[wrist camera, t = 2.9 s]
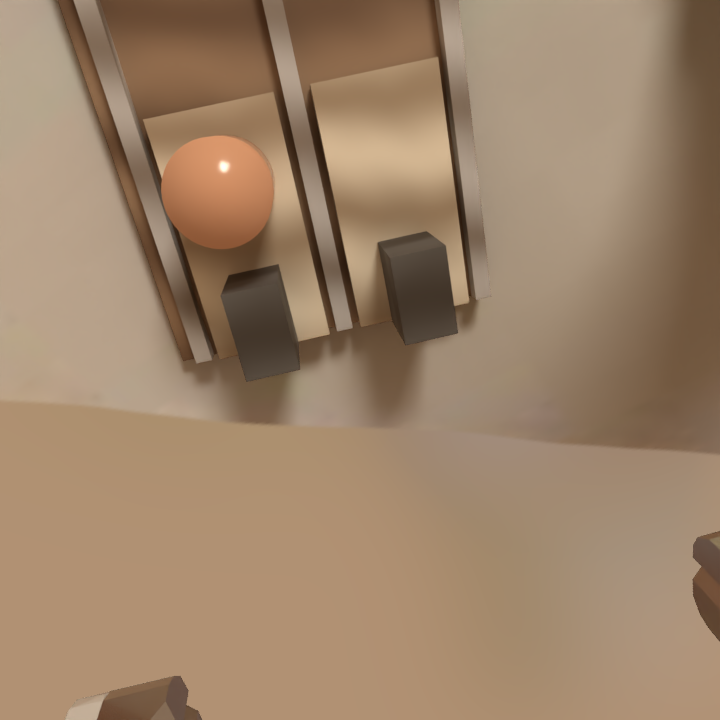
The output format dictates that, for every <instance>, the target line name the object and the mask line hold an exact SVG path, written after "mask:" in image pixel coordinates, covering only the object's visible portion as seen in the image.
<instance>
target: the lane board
mask: <svg viewBox="0 0 720 720" xmlns="http://www.w3.org/2000/svg"><path fill="white" fill-rule="evenodd" d="M58 2H59V5H60V8H61V11H62V14H63V17H64V20H65V23H66V25H67V28H68V31H69V34H70V37H71V40H72V43H73V46H74V48H75V51H76V54H77V57H78V60H79V63H80V66H81V69H82V71H83V74H84V77H85V80H86V83H87V86H88V89H89V92H90V94H91V97H92V100H93V103H94V106H95V109H96V112H97V115H98V117H99V120H100V123H101V126H102V129H103V132H104V135H105V138H106V140H107V143H108V146H109V149H110V152H111V155H112V158H113V161H114V163H115V166H116V169H117V172H118V175H119V178H120V181H121V184H122V186H123V189H124V192H125V195H126V198H127V201H128V204H129V207H130V209H131V212H132V215H133V218H134V221H135V224H136V227H137V230H138V232H139V235H140V238H141V241H142V244H143V247H144V250H145V253H146V256H147V258H148V261H149V264H150V267H151V270H152V273H153V276H154V279H155V281H156V284H157V287H158V290H159V293H160V296H161V299H162V302H163V304H164V307H165V310H166V313H167V316H168V319H169V322H170V325H171V327H172V330H173V333H174V336H175V339H176V342H177V345H178V348H179V350H180V353H181V356H182V359H183V361H186V360H190V359H195V361H196V364H197V363H201V362H205V361H210V360H212V359H213V356H214V354H217V349H216V346H215V343H214V340H213V337H212V334H211V331H210V328H209V324H208V321H207V318H206V315H205V312H204V309H203V306H202V303H201V299H200V296H199V293H198V290H197V287H196V284H195V281H194V278H193V274H192V271H191V268H190V265H189V262H188V259H187V256H186V253H185V249H184V246H183V243H182V240H181V237H180V234H179V231H178V229H177V228H176V227H175V226H174V224H173V223H172V222H171V220H170V218H169V217H168V215H167V213H166V210H165V208H164V204H163V200H162V194H161V183H162V178H161V174H160V171H159V168H158V165H157V162H156V159H155V156H154V153H153V149H152V146H151V143H150V140H149V137H148V134H147V131H146V128H145V124H144V121H143V119H148V118H153V117H157V116H162V115H167V114H171V113H176V112H181V111H186V110H190V109H195V108H200V107H204V106H209V105H214V104H218V103H223V102H228V101H233V100H237V99H242V98H247V97H251V96H256V95H261V94H265V93H270V92H274V96H275V101H276V105H277V109H278V114H279V118H280V122H281V126H282V131H283V135H284V139H285V144H286V148H287V152H288V156H289V161H290V165H291V169H292V174H293V178H294V182H295V187H296V191H297V195H298V199H299V204H300V208H301V212H302V217H303V221H304V225H305V229H306V234H307V238H308V242H309V247H310V251H311V255H312V259H313V264H314V268H315V272H316V277H317V281H318V285H319V290H320V294H321V298H322V302H323V307H324V311H325V315H326V320H327V324H328V328H331V327H336V328H337V331H342V330H346V329H351V328H353V326H352V323H353V322H358V321H359V319H358V314H357V310H356V305H355V300H354V295H353V290H352V286H351V281H350V276H349V271H348V267H347V262H346V257H345V252H344V248H343V243H342V238H341V233H340V228H339V224H338V219H337V214H336V209H335V205H334V200H333V195H332V190H331V185H330V181H329V176H328V171H327V166H326V162H325V157H324V152H323V147H322V143H321V138H320V133H319V128H318V123H317V119H316V114H315V109H314V104H313V100H312V95H311V90H310V84H312V83H317V82H322V81H326V80H331V79H336V78H341V77H345V76H350V75H355V74H359V73H364V72H369V71H373V70H378V69H383V68H388V67H392V66H397V65H402V64H406V63H411V62H416V61H421V60H425V59H430V58H435V57H438V60H439V68H440V76H441V84H442V92H443V100H444V108H445V115H446V123H447V131H448V139H449V147H450V155H451V162H452V170H453V178H454V186H455V194H456V202H457V210H458V217H459V225H460V233H461V241H462V249H463V257H464V265H465V272H466V280H467V288H468V296H472V297H473V298H474V299H476V300H478V299H483V298H487V297H491V289H490V280H489V271H488V262H487V253H486V244H485V235H484V226H483V217H482V208H481V199H480V190H479V181H478V172H477V163H476V154H475V145H474V136H473V127H472V118H471V109H470V100H469V91H468V82H467V73H466V64H465V55H464V46H463V37H462V28H461V19H460V10H459V1H458V0H58Z"/></svg>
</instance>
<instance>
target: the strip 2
mask: <svg viewBox="0 0 720 720" xmlns="http://www.w3.org/2000/svg"><path fill="white" fill-rule="evenodd" d="M310 90H311V95H312V100H313V104H314V109H315V114H316V119H317V123H318V128H319V133H320V138H321V143H322V147H323V152H324V157H325V162H326V166H327V171H328V176H329V181H330V185H331V190H332V195H333V200H334V205H335V209H336V214H337V219H338V224H339V228H340V233H341V238H342V243H343V248H344V252H345V257H346V262H347V267H348V271H349V276H350V281H351V286H352V290H353V295H354V300H355V305H356V310H357V314H358V319H359V323H360V326H361V327H364V326H369V325H373V324H377V323H382V322H386V321H391V320H392V321H393V323H394V325H395V327H396V328H397V330H398V332H399V334H400V336H401V338H402V339H403V341H404V343H405V345H409V344H414V343H418V342H422V341H427V340H431V339H435V338H440V337H444V336H449V335H453V334H457V333H458V330H457V322H456V315H455V308H454V306H457V305H461V304H465V303H469V296H468V288H467V280H466V272H465V265H464V257H463V249H462V241H461V233H460V225H459V217H458V210H457V202H456V194H455V186H454V178H453V170H452V162H451V155H450V147H449V139H448V131H447V123H446V115H445V108H444V100H443V92H442V84H441V76H440V68H439V60H438V57H435V58H430V59H425V60H421V61H416V62H411V63H406V64H402V65H397V66H392V67H388V68H383V69H378V70H373V71H369V72H364V73H359V74H355V75H350V76H345V77H341V78H336V79H331V80H326V81H322V82H317V83H312V84H310Z"/></svg>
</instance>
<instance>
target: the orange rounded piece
mask: <svg viewBox="0 0 720 720" xmlns="http://www.w3.org/2000/svg"><path fill="white" fill-rule="evenodd" d="M274 193H275V177H274V172H273V169H272V166H271V164H270V162H269V160H268V159H267V157H266V156H265V154H264V153H263V152H262V151H261V150H260V149H259V148H258V147H257V146H256V145H255V144H253V143H252V142H250V141H248V140H247V139H244V138H242V137H239V136H235V135H217V136H209V137H202V138H198V139H195V140H192V141H190V142H188V143H186V144H185V145H183V146H182V147H180V148H179V149H178V150H177V151H176V152H175V153H174V154H173V156H172V157H171V158H170V160H169V161H168V163H167V165H166V167H165V170H164V173H163V176H162V183H161V194H162V200H163V204H164V208H165V210H166V213H167V215H168V217H169V218H170V220H171V222H172V223H173V224H174V226H175V227H176V228H177V229H178V230H179V231H180V232H181V233H182V234H183V235H184V236H185V237H187V238H188V239H190V240H191V241H193V242H195V243H197V244H199V245H201V246H204V247H208V248H213V249H229V248H234V247H238V246H241V245H243V244H245V243H247V242H249V241H250V240H252V239H253V238H254V237H255V236H257V235H258V233H259V232H260V231H261V230H262V229H263V227H264V226H265V224H266V222H267V220H268V218H269V216H270V213H271V208H272V203H273V198H274Z"/></svg>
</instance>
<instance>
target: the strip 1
mask: <svg viewBox="0 0 720 720" xmlns="http://www.w3.org/2000/svg"><path fill="white" fill-rule="evenodd" d="M143 121H144V124H145V128H146V131H147V134H148V137H149V140H150V143H151V146H152V149H153V153H154V156H155V159H156V162H157V165H158V168H159V171H160V174H161V178H162V176H163V173H164V170H165V167H166V165H167V163H168V161H169V160H170V158H171V157H172V156H173V154H174V153H175V152H176V151H177V150H178V149H179V148H180V147H182V146H183V145H185V144H186V143H188V142H190V141H192V140H195V139H198V138H202V137H209V136H217V135H235V136H239V137H242V138H244V139H247V140H248V141H250V142H252V143H253V144H255V145H256V146H257V147H258V148H259V149H260V150H261V151H262V152H263V153H264V154H265V156H266V157H267V159H268V160H269V162H270V164H271V166H272V169H273V172H274V177H275V193H274V198H273V203H272V208H271V213H270V216H269V218H268V220H267V222H266V224H265V226H264V227H263V229H262V230H261V231H260V232H259V233H258V235H257V236H255V237H254V238H253V239H252V240H250V241H249V242H247V243H245V244H243V245H241V246H238V247H234V248H229V249H213V248H208V247H204V246H201V245H199V244H197V243H195V242H193V241H191V240H190V239H188V238H187V237H185V236H184V235H183V234H182V233H181V232H180V231H179V230H178V231H179V234H180V237H181V240H182V243H183V246H184V249H185V253H186V256H187V259H188V262H189V265H190V268H191V271H192V274H193V278H194V281H195V284H196V287H197V290H198V293H199V296H200V299H201V303H202V306H203V309H204V312H205V315H206V318H207V321H208V324H209V328H210V331H211V334H212V337H213V340H214V343H215V346H216V349H217V353H218V356H219V359H224V358H228V357H232V356H237V355H239V359H240V362H241V365H242V368H243V372H244V375H245V378H246V381H247V382H248V381H252V380H256V379H261V378H265V377H270V376H274V375H278V374H283V373H287V372H291V371H296V370H300V361H299V342H298V341H303V340H307V339H312V338H316V337H320V336H325V335H329V334H330V333H329V328H328V324H327V320H326V315H325V311H324V307H323V302H322V298H321V294H320V290H319V285H318V281H317V277H316V272H315V268H314V264H313V259H312V255H311V251H310V247H309V242H308V238H307V234H306V229H305V225H304V221H303V217H302V212H301V208H300V204H299V199H298V195H297V191H296V187H295V182H294V178H293V174H292V169H291V165H290V161H289V156H288V152H287V148H286V144H285V139H284V135H283V131H282V126H281V122H280V118H279V114H278V109H277V105H276V101H275V96H274V92H270V93H265V94H261V95H256V96H251V97H247V98H242V99H237V100H233V101H228V102H223V103H218V104H214V105H209V106H204V107H200V108H195V109H190V110H186V111H181V112H176V113H171V114H167V115H162V116H157V117H153V118H148V119H143Z"/></svg>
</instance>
